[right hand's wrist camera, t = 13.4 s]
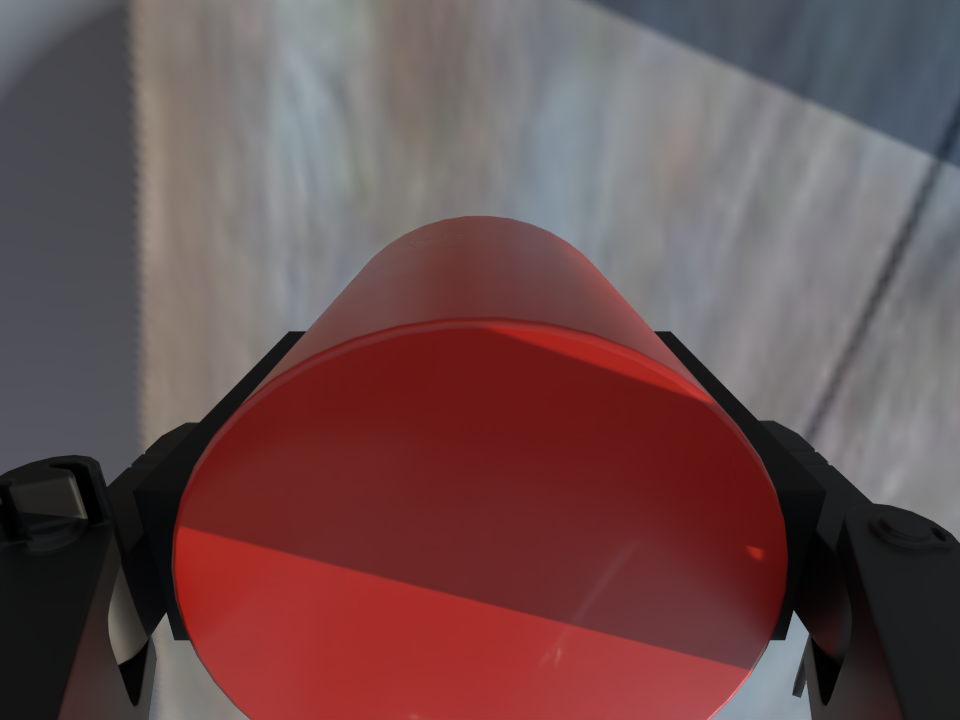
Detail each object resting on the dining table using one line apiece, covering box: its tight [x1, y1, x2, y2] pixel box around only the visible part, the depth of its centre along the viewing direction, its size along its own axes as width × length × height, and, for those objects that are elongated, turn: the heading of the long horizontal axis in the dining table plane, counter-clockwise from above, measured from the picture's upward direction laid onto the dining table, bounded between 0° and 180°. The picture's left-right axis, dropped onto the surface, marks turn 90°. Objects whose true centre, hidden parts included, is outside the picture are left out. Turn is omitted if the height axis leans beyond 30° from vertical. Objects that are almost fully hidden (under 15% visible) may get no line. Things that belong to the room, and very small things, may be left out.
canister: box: [172, 216, 788, 720], centre depth 11 cm, size 8×8×8 cm
